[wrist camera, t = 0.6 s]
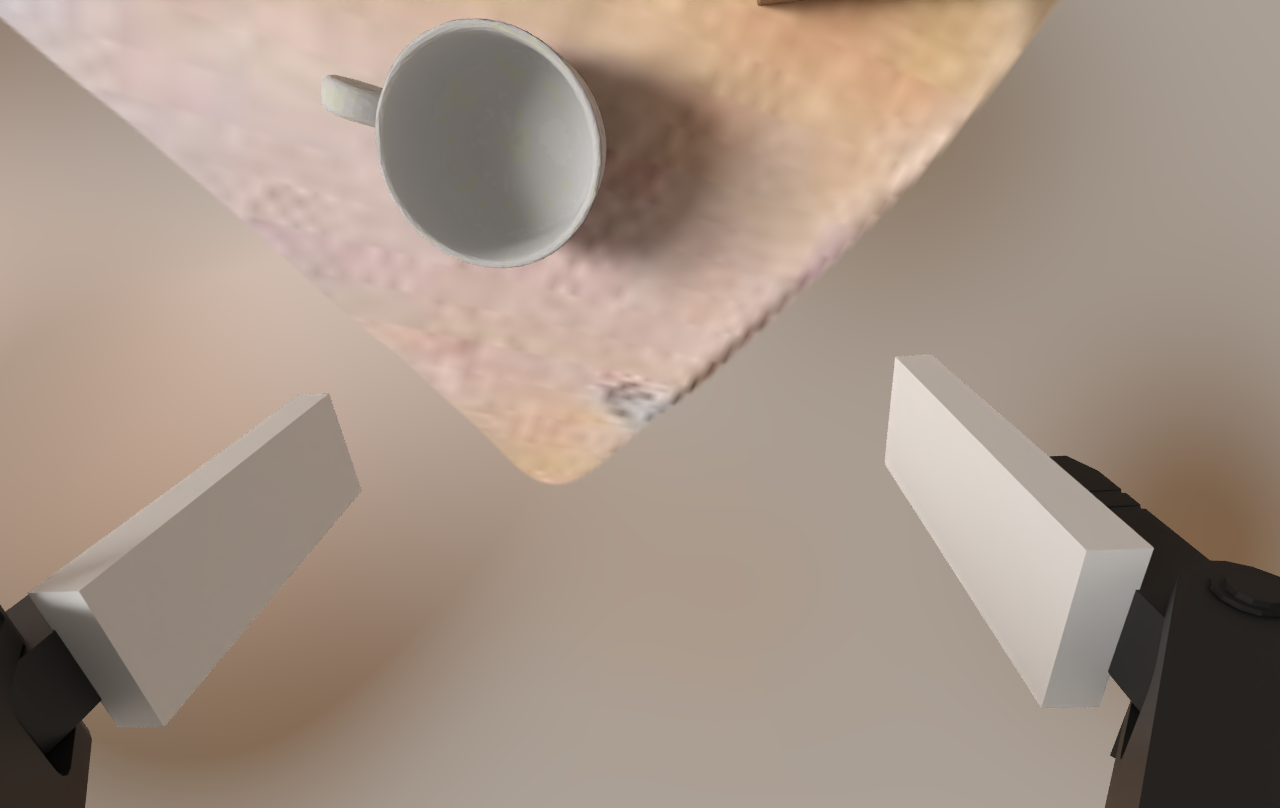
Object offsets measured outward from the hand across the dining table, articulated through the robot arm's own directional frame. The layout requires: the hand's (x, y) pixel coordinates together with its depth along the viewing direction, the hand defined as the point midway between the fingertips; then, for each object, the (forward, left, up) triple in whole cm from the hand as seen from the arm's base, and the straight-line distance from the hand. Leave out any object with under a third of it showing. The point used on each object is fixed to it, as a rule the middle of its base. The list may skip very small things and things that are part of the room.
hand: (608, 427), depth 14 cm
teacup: (-7, -8, -25) cm, 28 cm away
